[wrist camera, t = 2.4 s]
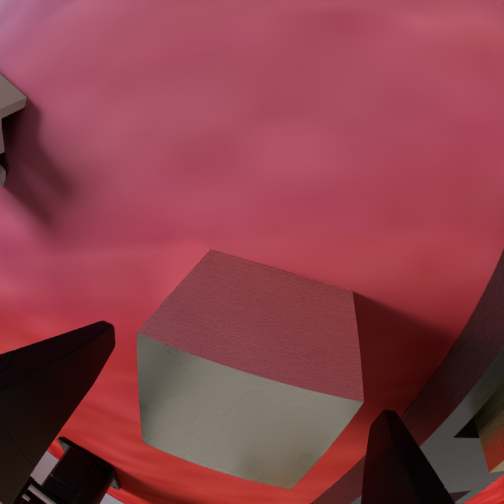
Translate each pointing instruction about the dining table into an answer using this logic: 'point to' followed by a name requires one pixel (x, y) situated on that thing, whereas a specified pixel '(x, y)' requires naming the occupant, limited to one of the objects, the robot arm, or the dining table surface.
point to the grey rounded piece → (8, 110)
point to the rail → (452, 406)
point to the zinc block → (249, 370)
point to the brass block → (492, 429)
